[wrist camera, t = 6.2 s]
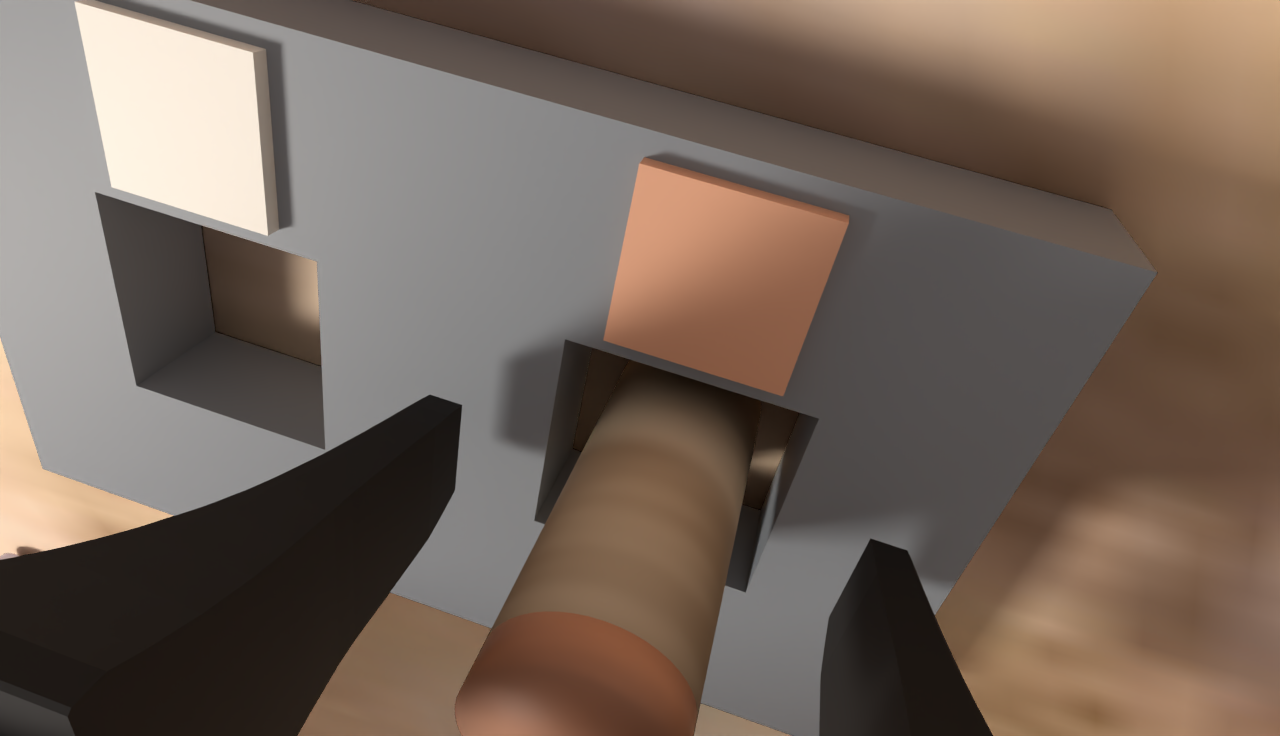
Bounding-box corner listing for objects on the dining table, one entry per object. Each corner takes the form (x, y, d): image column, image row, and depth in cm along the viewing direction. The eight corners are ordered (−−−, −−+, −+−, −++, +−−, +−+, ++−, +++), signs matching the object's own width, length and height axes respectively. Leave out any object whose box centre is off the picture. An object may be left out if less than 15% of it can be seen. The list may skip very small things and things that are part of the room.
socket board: (846, 662, 19) (844, 766, 17) (121, 413, 21) (31, 476, 19) (1111, 208, 12) (1165, 282, 10) (2, -96, 14) (-161, -92, 12)
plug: (739, 476, 17) (656, 845, 10) (607, 435, 17) (449, 767, 11) (779, 364, 15) (711, 720, 9) (632, 320, 15) (461, 632, 9)
